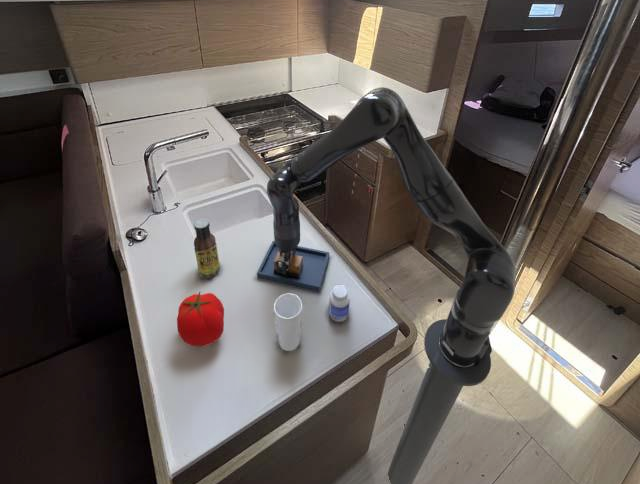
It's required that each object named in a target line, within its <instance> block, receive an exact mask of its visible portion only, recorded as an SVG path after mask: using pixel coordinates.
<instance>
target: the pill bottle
mask: <svg viewBox="0 0 640 484" xmlns="http://www.w3.org/2000/svg"><path fill="white" fill-rule="evenodd" d="M350 296H351V295H350V293H349V292H348V287H347V286H345V285H344V284H335V285H334V287H333V288H332V291H331V292H330V295H329V307H328V308H329V309H328V314H329V316H330V318H331V320H333V321H335V322H338V323H339V322H340V323H341V322H344V321H346V320H347V319H348V316H349V313H350V301H351V297H350Z"/></svg>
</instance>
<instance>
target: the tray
mask: <svg viewBox="0 0 640 484" xmlns="http://www.w3.org/2000/svg"><path fill="white" fill-rule="evenodd" d="M278 252H279V248H278V247H277V246H276V244H275V241H274V240H272V242H271V244H270V245H269V248H268V249H267V252H266V253H265V256H264V258H263V260H262V262H261V264H260V266H259V268H258V270H257V272H256V277H257V279H259V280H263V281H267V282H271V283H276V284H281V285H284V286H289V287H294V288H297V289H302V290H306V291H310V292H314V293H320V292H321V289H322V284H323V281H324V278H325V274H326V271H327V267H328V263H329V260H330V252H329V251H325V250H320V249H315V248H311V247H306V246H300V245H298V247H297V249H296V253H295V255H297V256H302V257H303V268H302V271H301V274H300V276H299V279H296V278H292V277H289V278H287V277H282V275H278V274H274V259H275V257H276V255H277V253H278Z"/></svg>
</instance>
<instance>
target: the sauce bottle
mask: <svg viewBox="0 0 640 484" xmlns="http://www.w3.org/2000/svg"><path fill="white" fill-rule="evenodd" d="M193 226H194V231H195V235H196V236H195V238H194V241H193V246H194V255H195V258H196V263H197V269H198V272H199V275H200V276H201V277H202V278H205V279H211V278H214V277H215V276H217V275H218V273H219V272H220V267H221V266H220V259H219V251H218V246H217V245H218V244H217V242H216V237H215V235H214V234H213V233H211V230H210V226H211V225H210V221H209V219H207V218H199V219H197V220H196V221H195V222H194V223H193Z"/></svg>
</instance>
